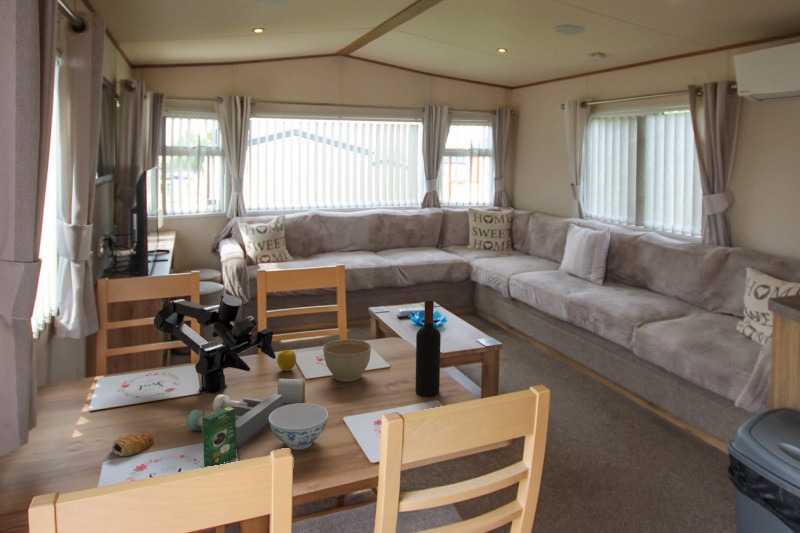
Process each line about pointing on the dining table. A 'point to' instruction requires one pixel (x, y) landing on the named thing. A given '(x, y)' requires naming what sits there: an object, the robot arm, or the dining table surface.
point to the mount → (254, 417)
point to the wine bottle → (428, 355)
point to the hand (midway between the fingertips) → (262, 363)
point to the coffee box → (219, 436)
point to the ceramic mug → (291, 391)
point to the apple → (286, 360)
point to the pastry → (132, 444)
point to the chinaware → (298, 424)
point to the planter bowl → (347, 358)
